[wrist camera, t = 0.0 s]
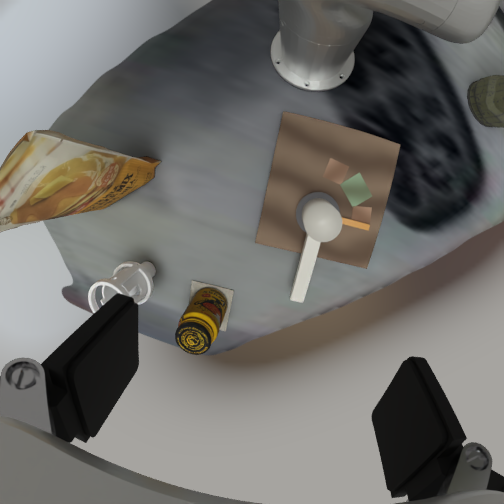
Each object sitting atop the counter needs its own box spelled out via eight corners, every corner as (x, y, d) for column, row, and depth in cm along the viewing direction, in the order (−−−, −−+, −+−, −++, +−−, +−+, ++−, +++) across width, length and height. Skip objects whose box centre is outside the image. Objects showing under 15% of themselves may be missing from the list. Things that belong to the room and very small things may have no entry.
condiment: (233, 289, 49) (219, 328, 38) (225, 330, 52) (211, 373, 41) (192, 279, 50) (167, 314, 38) (187, 320, 52) (164, 360, 41)
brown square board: (283, 112, 40) (283, 111, 38) (396, 144, 39) (400, 144, 38) (256, 240, 46) (255, 243, 45) (364, 265, 45) (366, 268, 44)
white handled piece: (301, 187, 41) (304, 192, 35) (373, 206, 41) (388, 214, 34) (276, 289, 46) (274, 309, 40) (343, 303, 46) (350, 324, 40)
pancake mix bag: (77, 187, 47) (-47, 223, 20) (158, 133, 42) (24, 121, 16) (91, 219, 48) (-29, 274, 22) (174, 170, 44) (47, 194, 18)
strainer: (159, 294, 51) (120, 339, 37) (126, 276, 51) (81, 314, 37) (171, 262, 49) (131, 302, 35) (136, 243, 49) (88, 275, 34)
